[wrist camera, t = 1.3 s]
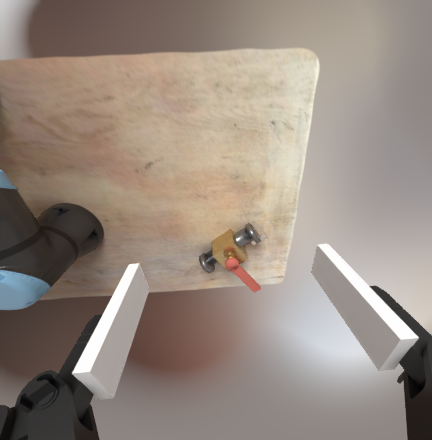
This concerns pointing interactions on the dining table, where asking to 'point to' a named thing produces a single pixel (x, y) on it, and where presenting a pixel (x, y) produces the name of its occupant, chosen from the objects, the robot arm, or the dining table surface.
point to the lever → (241, 273)
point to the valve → (230, 247)
